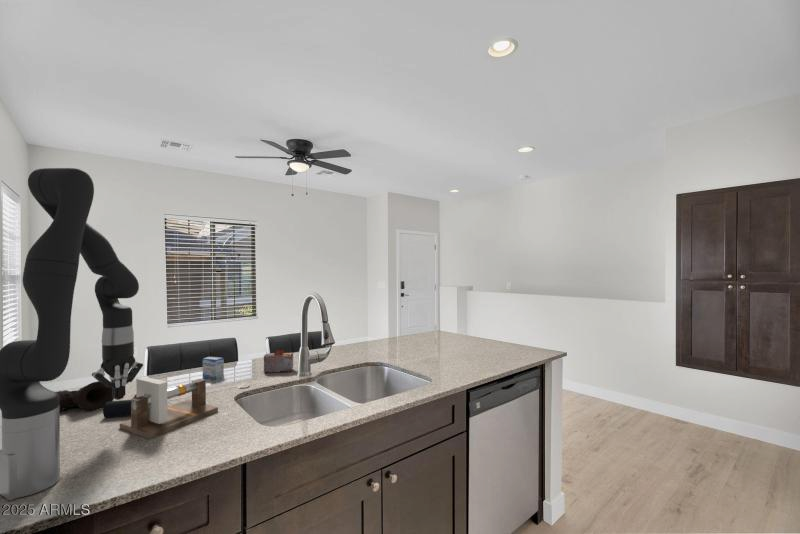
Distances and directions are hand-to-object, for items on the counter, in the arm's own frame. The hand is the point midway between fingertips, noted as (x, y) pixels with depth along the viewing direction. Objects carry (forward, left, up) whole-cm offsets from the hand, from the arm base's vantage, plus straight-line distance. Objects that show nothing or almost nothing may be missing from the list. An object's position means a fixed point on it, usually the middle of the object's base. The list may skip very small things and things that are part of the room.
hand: (119, 398), depth 108 cm
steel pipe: (+13, -4, -3) cm, 14 cm away
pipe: (+5, +35, -11) cm, 37 cm away
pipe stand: (+13, -4, -10) cm, 17 cm away
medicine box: (+49, +25, -11) cm, 56 cm away
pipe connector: (+12, +14, -11) cm, 22 cm away
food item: (+69, +5, -11) cm, 70 cm away
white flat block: (+7, -4, -8) cm, 11 cm away
